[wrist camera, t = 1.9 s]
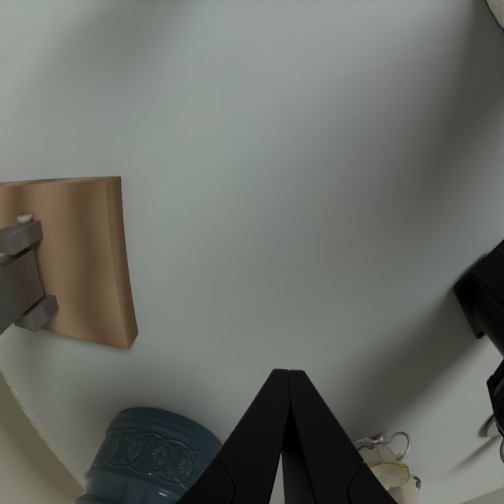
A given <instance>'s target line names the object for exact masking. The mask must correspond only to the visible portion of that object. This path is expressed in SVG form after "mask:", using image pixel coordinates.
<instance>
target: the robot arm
mask: <svg viewBox="0 0 504 504" xmlns="http://www.w3.org/2000/svg"><path fill="white" fill-rule="evenodd" d="M460 288H461V290H460V291H459V289H460ZM453 291H454V293H455V295H456V297H457V299H458V301H459V303H460V305H461V307H462V310H463V312H464V314H465V316H466V318H467V320H468V322H469V324H470V326H471V329H472V331H473V333H474V335H475V337H476V338H477V339H480V338H482V337H483V336H484V335H487V336H488V337H489V339H490V340H491V341H492V343H493V344H494V345H495V347H496V348H497V349H498V351H499V352H500V353H501V355H502V356H503V358H504V241H503V242H502V243H501V244H500V245H499V246H498V247H497V248H496V249H495V250H494V251H493V252H492V253H491V254H489V255H488V256H487V257H486V258H485V259H484V260H483V261H482V262H481V263H480V264H479V265H477V266H476V267H475V268H474V269H473V270H472V271H471V272H470V273H468V274H467V275H466V276H465V277H464V278H463V279H461V280H460V281H459V282H458V283H457V284H456V285H455V286H454V290H453ZM487 386H488V390H489V395H490V399H491V403H492V408H493V413H494V419H495V422H496V426H497V428H498V432H499V433H500V434H501V435H502V437H503V438H504V359H503V360H502V362H501V363H500V365H499V366H498V368H497V369H496V371H495V372H494V374H493V375H491V376H490V378H489V379H488V380H487ZM281 454H282V468H283V483H284V498H285V504H398V503H397V502H396V500H395V499H394V498H393V497H392V496H391V495H390V494H389V493H388V491H387V490H386V489H385V488H384V487H383V485H382V484H381V483H380V481H379V480H378V479H377V477H376V476H375V475H374V473H373V472H372V471H371V469H370V468H369V466H368V465H367V463H366V462H364V459H363V458H362V456H361V455H360V453H359V452H358V450H357V449H356V447H355V446H354V444H353V443H352V442H351V440H350V439H349V437H348V436H347V434H346V433H345V431H344V430H343V428H342V427H341V425H340V424H339V422H338V421H337V419H336V418H335V416H334V415H333V413H332V412H331V410H330V409H329V407H328V406H327V404H326V403H325V401H324V400H323V398H322V397H321V395H320V394H319V392H318V391H317V389H316V388H315V386H314V385H313V383H312V382H311V380H310V379H309V377H308V376H307V374H306V373H305V372H304V371H303V370H287V369H273V370H272V372H271V373H270V375H269V377H268V378H267V380H266V381H265V383H264V385H263V386H262V388H261V389H260V391H259V392H258V394H257V395H256V397H255V399H254V400H253V402H252V403H251V405H250V406H249V408H248V409H247V411H246V412H245V414H244V415H243V417H242V418H241V420H240V421H239V423H238V424H237V426H236V427H235V429H234V430H233V432H232V433H231V434H230V436H229V437H228V439H227V440H226V442H225V443H224V445H223V446H222V447H221V449H220V450H219V452H218V453H217V454H216V458H213V460H212V461H211V462H210V464H209V465H208V467H207V468H206V469H205V470H204V472H203V473H202V474H201V475H200V477H199V478H198V479H197V480H196V482H195V483H194V484H193V485H192V486H191V487H190V488H189V489H188V490H187V491H186V492H185V493H184V494H183V495H182V496H181V497H180V498H179V499H178V500H177V501H176V502H175V503H174V504H269V502H270V498H271V494H272V490H273V486H274V481H275V477H276V473H277V468H278V464H279V459H280V455H281ZM363 462H364V463H363Z"/></svg>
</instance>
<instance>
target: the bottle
mask: <svg viewBox="0 0 504 504" xmlns="http://www.w3.org/2000/svg"><path fill="white" fill-rule="evenodd" d="M486 1H487V3H488V6H489V8H490V10H491V11H492V13H493V14H494V16H495V18H496V19H497V21H498V23H499V24H500V25H501V26H502V28H503V29H504V0H486Z"/></svg>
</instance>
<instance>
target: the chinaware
mask: <svg viewBox="0 0 504 504" xmlns="http://www.w3.org/2000/svg"><path fill="white" fill-rule="evenodd" d="M398 435H405V436H406V437H407V440H408V446H407V449H406V452H405V454H404V455H402V454H400V453H399V454H398V455H396V454H395V453H394V452H393V451H392V450H391V449H389V448H388V447H386V446H384V445H385V444H388V443H390V442H391V441H392V440H393V439H394V438H395V437H396V436H398ZM385 440H386V438H385V437H384V436H380V437H379V438H378V441H375V440H373V439H369V438H368V437H365V438H364V439H360V440H357V441H354V442H352V443H353V444H354V446H355V447H356V449H357V450H358V452H359V453H360V455H361V456H362V458H363V459H364V462H366V463H367V465H368V466H369V468H370V469H371V471H372V472H373V473H374V475H375V476H376V477H377V479H378V480H379V481H380V483H381V484H382V485H383V487H384V488H385V489H386V490H387V491H388V493H389V494H390V495H391V496H392V497H393V498H394V499H395V500H396V502H397V503H398V504H418V492H419V489H420V486H421V480H420V479H419V478H418V477H417V476H415V475H413V474H410V473H409V471H408V466H407V465H406V463H404V462H401V460H403V459H404V458H405V457H406V456H407V455H408V454H409V453H410V450H411V446H412V441H411V438H410V436H409V435H408V434H407V433H405V432H397V433H395V434H394V435H393V436H392V437H391V438H390V439H389V440H388V441H387V442H385ZM377 442H378V443H379V444H377ZM397 456H398V457H397ZM399 458H400V459H399ZM364 462H363V463H364Z"/></svg>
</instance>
